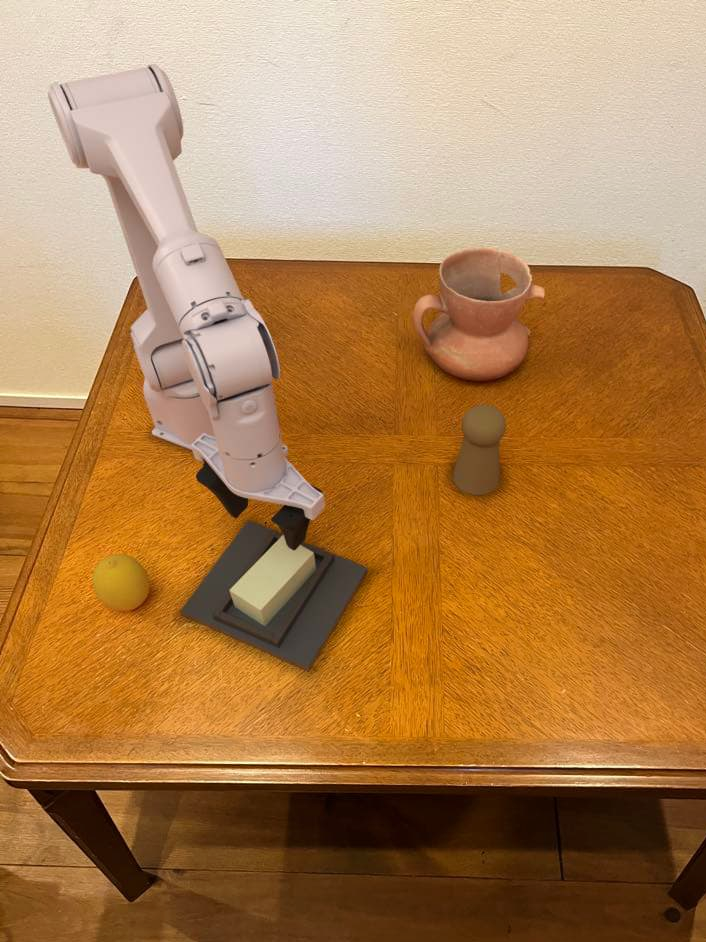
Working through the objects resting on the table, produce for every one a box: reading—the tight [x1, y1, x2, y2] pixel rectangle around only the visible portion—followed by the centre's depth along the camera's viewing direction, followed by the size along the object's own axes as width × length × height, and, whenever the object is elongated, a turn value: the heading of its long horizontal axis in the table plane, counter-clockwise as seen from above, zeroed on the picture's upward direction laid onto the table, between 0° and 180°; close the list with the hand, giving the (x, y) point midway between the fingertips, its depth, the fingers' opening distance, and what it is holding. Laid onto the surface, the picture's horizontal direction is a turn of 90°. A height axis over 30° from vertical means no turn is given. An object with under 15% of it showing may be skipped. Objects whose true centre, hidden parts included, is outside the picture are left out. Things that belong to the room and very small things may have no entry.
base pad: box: [179, 519, 369, 673], centre depth 83 cm, size 16×14×2 cm
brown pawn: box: [452, 404, 507, 496], centre depth 90 cm, size 6×6×11 cm
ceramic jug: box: [412, 247, 546, 382], centre depth 102 cm, size 18×14×14 cm
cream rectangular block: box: [229, 535, 316, 626], centre depth 81 cm, size 4×9×4 cm, turn 146°
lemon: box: [92, 553, 151, 613], centre depth 79 cm, size 6×6×8 cm
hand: (268, 526), depth 77 cm, fingers open, 7 cm apart
